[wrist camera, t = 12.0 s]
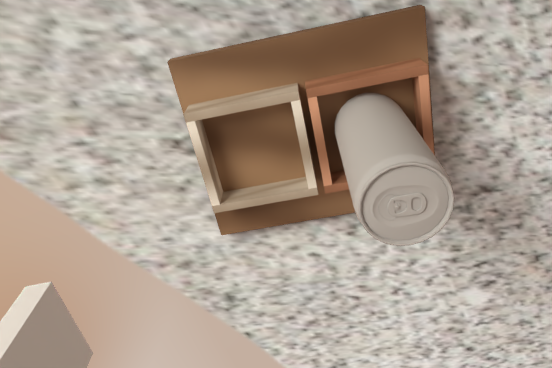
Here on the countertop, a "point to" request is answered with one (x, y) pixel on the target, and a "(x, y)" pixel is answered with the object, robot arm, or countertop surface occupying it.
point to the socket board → (295, 113)
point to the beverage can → (391, 172)
